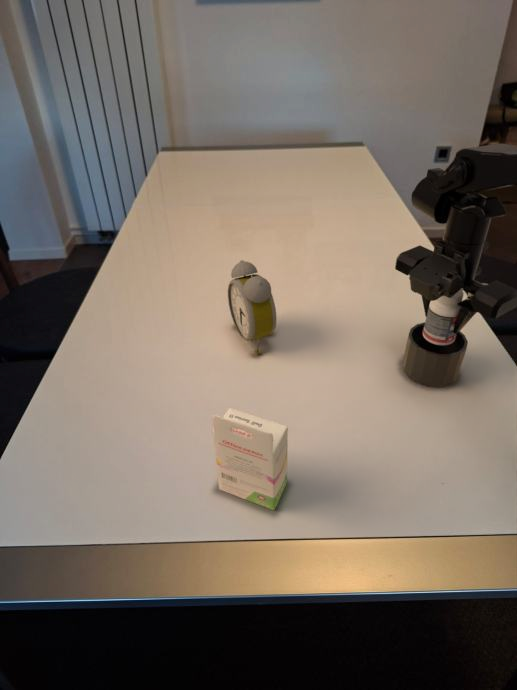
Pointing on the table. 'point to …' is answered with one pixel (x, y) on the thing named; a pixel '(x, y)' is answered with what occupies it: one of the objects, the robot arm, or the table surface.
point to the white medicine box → (251, 457)
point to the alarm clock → (251, 304)
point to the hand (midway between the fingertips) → (441, 324)
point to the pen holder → (433, 359)
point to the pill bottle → (442, 319)
